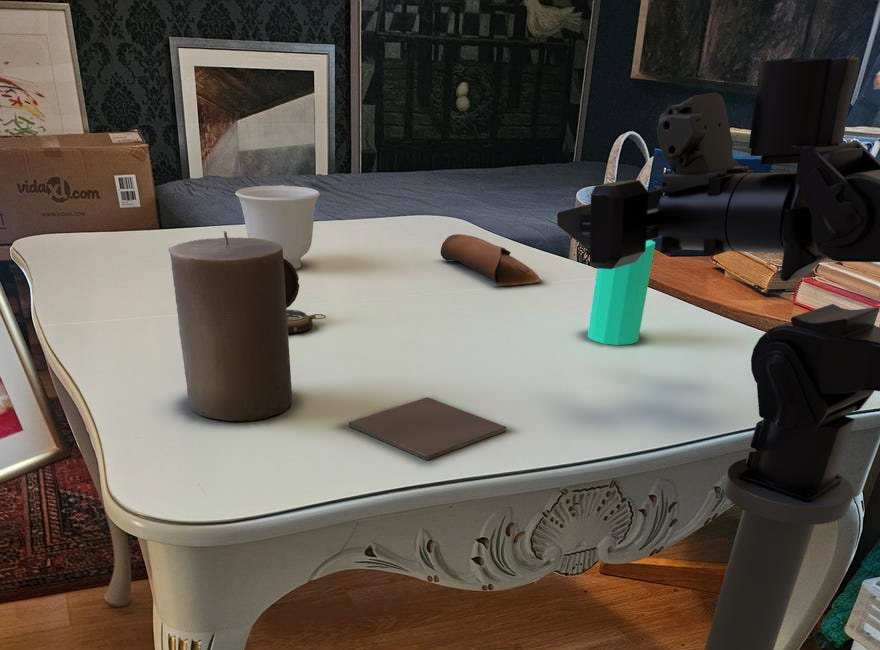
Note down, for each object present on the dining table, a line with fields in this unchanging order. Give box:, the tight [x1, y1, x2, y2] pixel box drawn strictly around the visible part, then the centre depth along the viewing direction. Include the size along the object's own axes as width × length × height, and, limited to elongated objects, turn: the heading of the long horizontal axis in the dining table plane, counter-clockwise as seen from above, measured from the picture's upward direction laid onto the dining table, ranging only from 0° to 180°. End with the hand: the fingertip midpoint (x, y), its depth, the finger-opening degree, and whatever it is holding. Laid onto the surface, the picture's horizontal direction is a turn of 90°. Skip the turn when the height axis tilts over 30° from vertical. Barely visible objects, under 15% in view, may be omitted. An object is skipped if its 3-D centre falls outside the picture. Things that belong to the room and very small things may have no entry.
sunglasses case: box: [440, 233, 542, 287], centre depth 128 cm, size 18×7×7 cm
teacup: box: [234, 184, 321, 270], centre depth 127 cm, size 12×15×10 cm
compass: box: [283, 258, 327, 334], centre depth 101 cm, size 8×8×7 cm
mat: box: [348, 397, 507, 461], centre depth 77 cm, size 10×10×1 cm
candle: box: [587, 239, 657, 346], centre depth 98 cm, size 6×6×12 cm
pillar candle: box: [167, 230, 293, 422], centre depth 77 cm, size 10×10×15 cm
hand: (590, 211), depth 81 cm, fingers open, 9 cm apart
